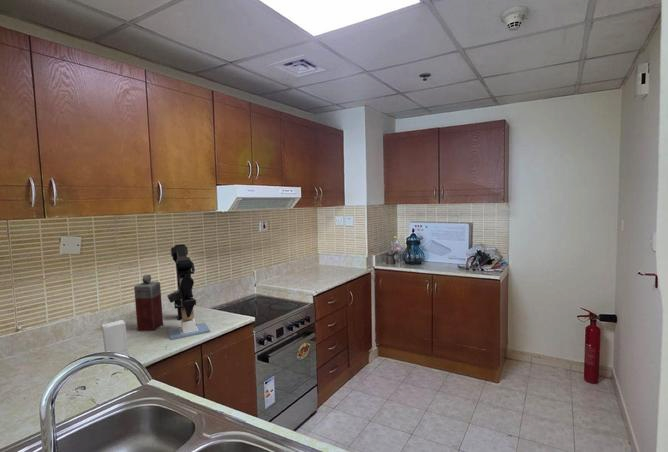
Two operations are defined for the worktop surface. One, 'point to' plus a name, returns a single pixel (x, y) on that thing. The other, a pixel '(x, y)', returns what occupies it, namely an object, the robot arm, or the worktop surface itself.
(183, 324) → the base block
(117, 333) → the skincare box
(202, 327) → the board
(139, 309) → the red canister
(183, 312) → the walnut block
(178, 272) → the robot arm
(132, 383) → the worktop surface
